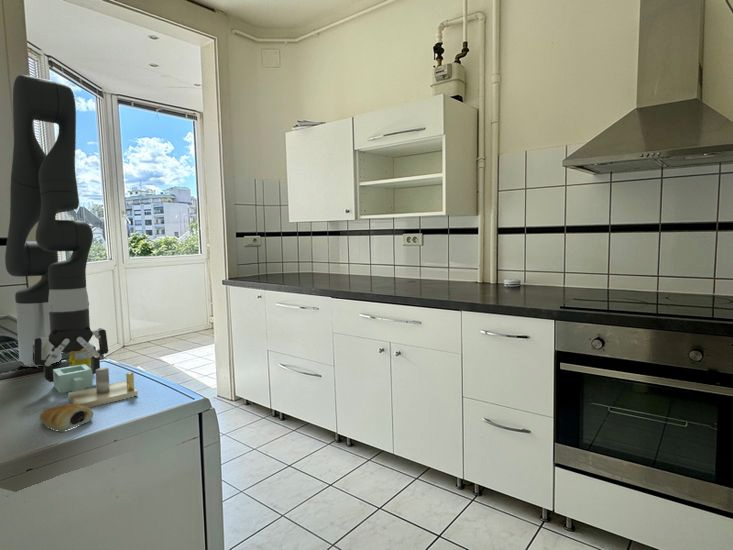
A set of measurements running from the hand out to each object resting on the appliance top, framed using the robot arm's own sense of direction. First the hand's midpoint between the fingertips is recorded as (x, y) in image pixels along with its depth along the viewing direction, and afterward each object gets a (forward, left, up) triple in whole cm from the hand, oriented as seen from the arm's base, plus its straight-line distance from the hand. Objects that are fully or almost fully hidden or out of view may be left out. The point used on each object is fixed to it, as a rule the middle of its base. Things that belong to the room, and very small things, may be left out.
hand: (73, 377), depth 100 cm
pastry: (+22, -6, -3) cm, 23 cm away
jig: (+12, +3, -2) cm, 13 cm away
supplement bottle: (-10, +4, -3) cm, 11 cm away
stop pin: (+15, +8, -1) cm, 17 cm away
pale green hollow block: (+2, 0, -2) cm, 3 cm away
